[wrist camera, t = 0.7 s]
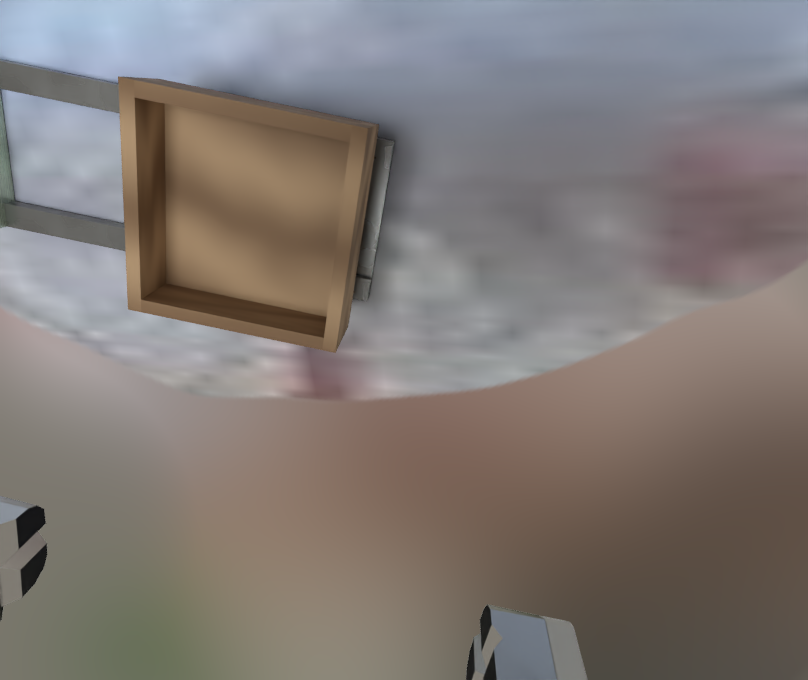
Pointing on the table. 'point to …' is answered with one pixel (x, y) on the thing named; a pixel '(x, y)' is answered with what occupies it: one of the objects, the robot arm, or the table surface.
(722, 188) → the table surface
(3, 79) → the track
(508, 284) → the table surface
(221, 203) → the tray
